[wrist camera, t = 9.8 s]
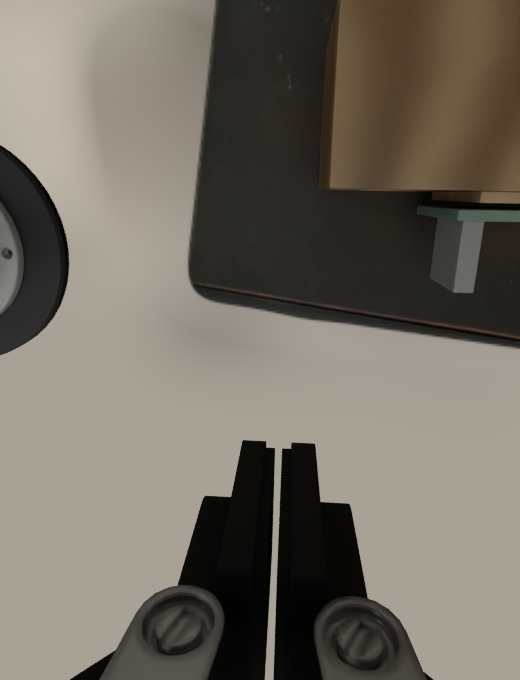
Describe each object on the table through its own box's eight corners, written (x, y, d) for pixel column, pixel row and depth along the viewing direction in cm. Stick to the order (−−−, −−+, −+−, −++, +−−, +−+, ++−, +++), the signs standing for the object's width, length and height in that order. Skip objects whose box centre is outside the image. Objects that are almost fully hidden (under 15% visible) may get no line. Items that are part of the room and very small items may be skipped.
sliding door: (409, 273, 35) (446, 298, 26) (417, 205, 33) (459, 209, 25) (520, 275, 34) (593, 302, 26) (532, 207, 33) (615, 212, 24)
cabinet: (318, 198, 34) (328, 200, 24) (325, 50, 32) (341, -18, 21) (541, 202, 34) (649, 206, 23) (569, 50, 31) (707, -21, 20)
